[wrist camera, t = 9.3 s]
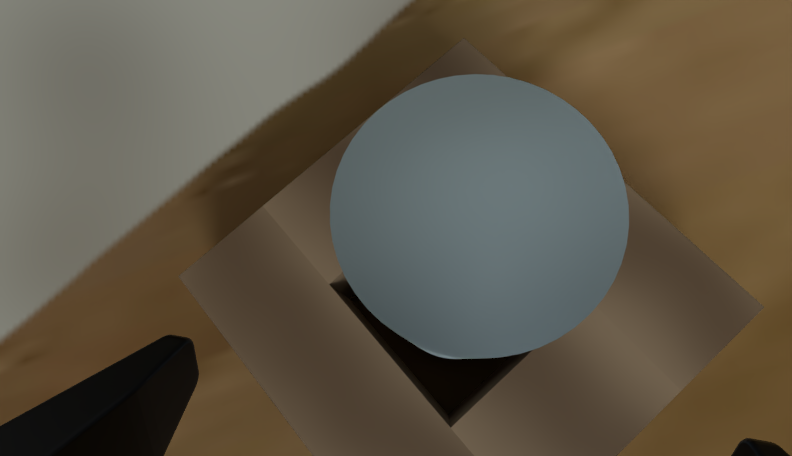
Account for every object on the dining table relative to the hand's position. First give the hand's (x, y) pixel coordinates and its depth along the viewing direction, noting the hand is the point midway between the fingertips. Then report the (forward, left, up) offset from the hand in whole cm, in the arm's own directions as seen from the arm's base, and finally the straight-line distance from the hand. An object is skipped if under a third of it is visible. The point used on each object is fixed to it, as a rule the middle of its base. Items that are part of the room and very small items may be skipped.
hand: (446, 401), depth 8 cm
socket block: (+2, +2, -12) cm, 13 cm away
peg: (+2, +2, -12) cm, 13 cm away
